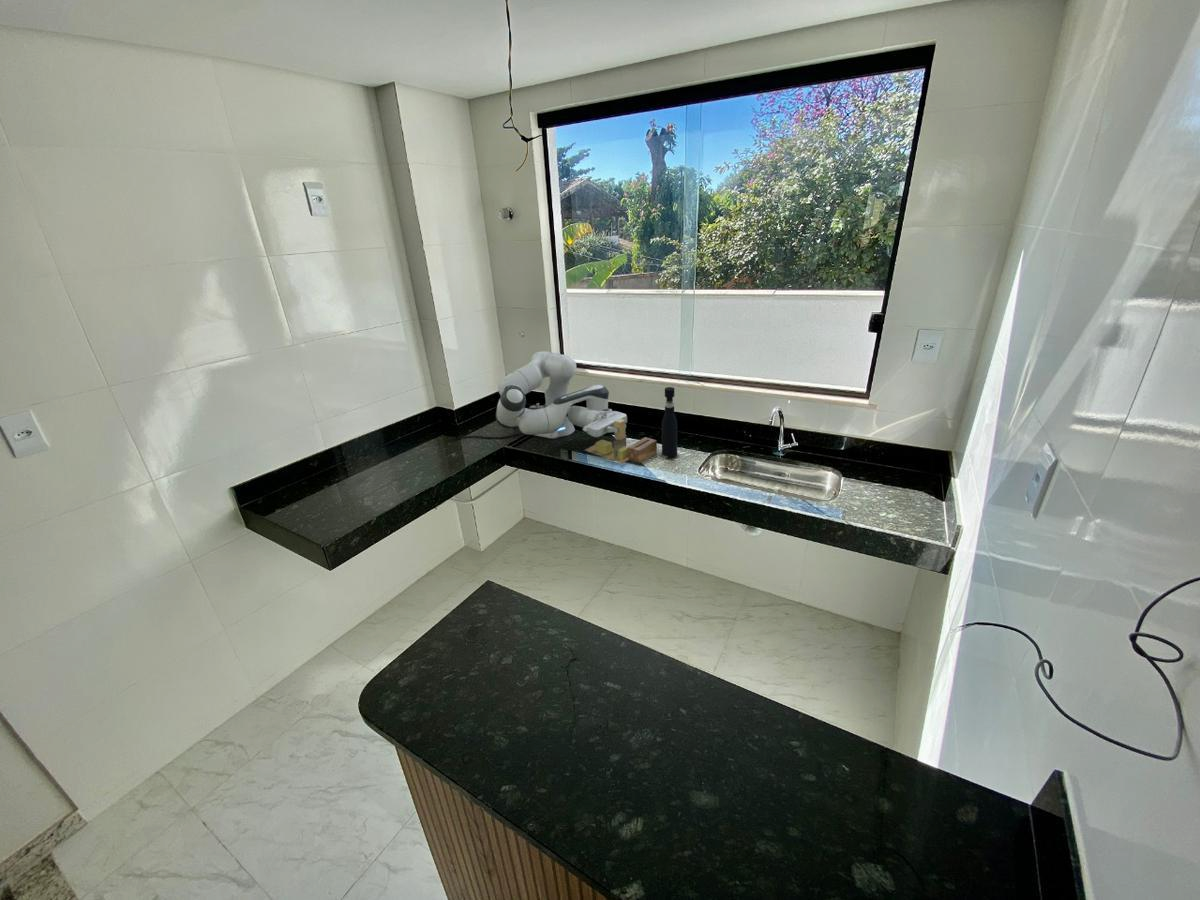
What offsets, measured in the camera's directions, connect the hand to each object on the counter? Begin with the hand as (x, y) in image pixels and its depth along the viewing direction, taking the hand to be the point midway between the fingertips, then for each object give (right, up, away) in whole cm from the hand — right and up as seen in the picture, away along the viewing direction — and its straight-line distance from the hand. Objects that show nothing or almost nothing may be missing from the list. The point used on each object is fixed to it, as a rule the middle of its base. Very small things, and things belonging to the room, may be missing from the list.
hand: (621, 428), depth 200 cm
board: (-5, -11, +11) cm, 17 cm away
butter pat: (+1, -12, +6) cm, 13 cm away
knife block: (+9, -12, +6) cm, 17 cm away
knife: (0, -11, +6) cm, 13 cm away
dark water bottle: (+21, -11, +7) cm, 25 cm away
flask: (-40, +5, +50) cm, 64 cm away
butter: (-7, -9, +12) cm, 17 cm away
